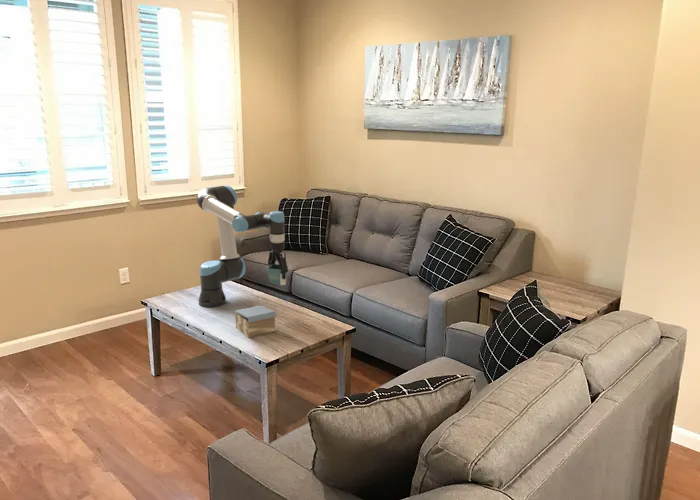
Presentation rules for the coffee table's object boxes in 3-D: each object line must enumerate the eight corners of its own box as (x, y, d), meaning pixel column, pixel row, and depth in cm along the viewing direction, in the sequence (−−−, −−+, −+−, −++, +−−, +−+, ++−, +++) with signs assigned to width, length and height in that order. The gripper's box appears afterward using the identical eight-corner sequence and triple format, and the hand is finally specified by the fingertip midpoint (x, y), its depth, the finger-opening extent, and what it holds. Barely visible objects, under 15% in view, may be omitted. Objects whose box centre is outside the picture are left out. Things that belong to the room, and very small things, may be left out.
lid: (235, 315, 281) (234, 310, 281) (261, 309, 289) (261, 305, 289) (248, 322, 267) (248, 317, 267) (276, 316, 275) (275, 311, 274)
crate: (236, 327, 283) (235, 312, 281) (261, 321, 291) (261, 307, 289) (248, 338, 270) (248, 322, 268) (275, 332, 278) (274, 316, 276)
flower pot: (283, 286, 291) (283, 269, 289) (267, 284, 293) (266, 268, 290) (288, 281, 299) (288, 265, 297) (272, 279, 301) (272, 263, 299)
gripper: (260, 237, 298) (261, 276, 303) (281, 247, 279) (281, 289, 284) (273, 235, 302) (274, 274, 307) (294, 245, 283) (294, 286, 288)
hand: (277, 281), depth 296 cm, fingers closed on flower pot, 11 cm apart
